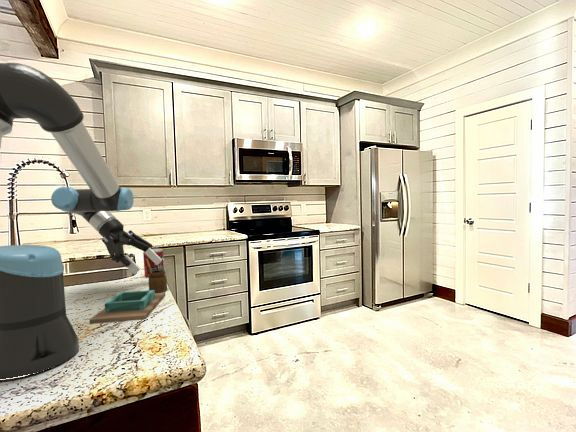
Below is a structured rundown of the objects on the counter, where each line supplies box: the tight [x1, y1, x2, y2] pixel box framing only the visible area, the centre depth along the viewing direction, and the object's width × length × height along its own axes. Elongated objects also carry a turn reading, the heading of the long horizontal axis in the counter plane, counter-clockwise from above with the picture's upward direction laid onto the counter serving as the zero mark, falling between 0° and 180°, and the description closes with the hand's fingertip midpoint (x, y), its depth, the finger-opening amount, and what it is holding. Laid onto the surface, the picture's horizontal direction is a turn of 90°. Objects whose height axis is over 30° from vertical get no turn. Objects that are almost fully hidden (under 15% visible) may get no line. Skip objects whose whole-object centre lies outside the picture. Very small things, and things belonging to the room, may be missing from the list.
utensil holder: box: [146, 258, 168, 293], centre depth 108 cm, size 6×6×12 cm
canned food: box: [142, 248, 165, 278], centre depth 130 cm, size 8×8×11 cm
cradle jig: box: [89, 289, 166, 324], centre depth 92 cm, size 20×14×4 cm
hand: (149, 266), depth 109 cm, fingers open, 13 cm apart
